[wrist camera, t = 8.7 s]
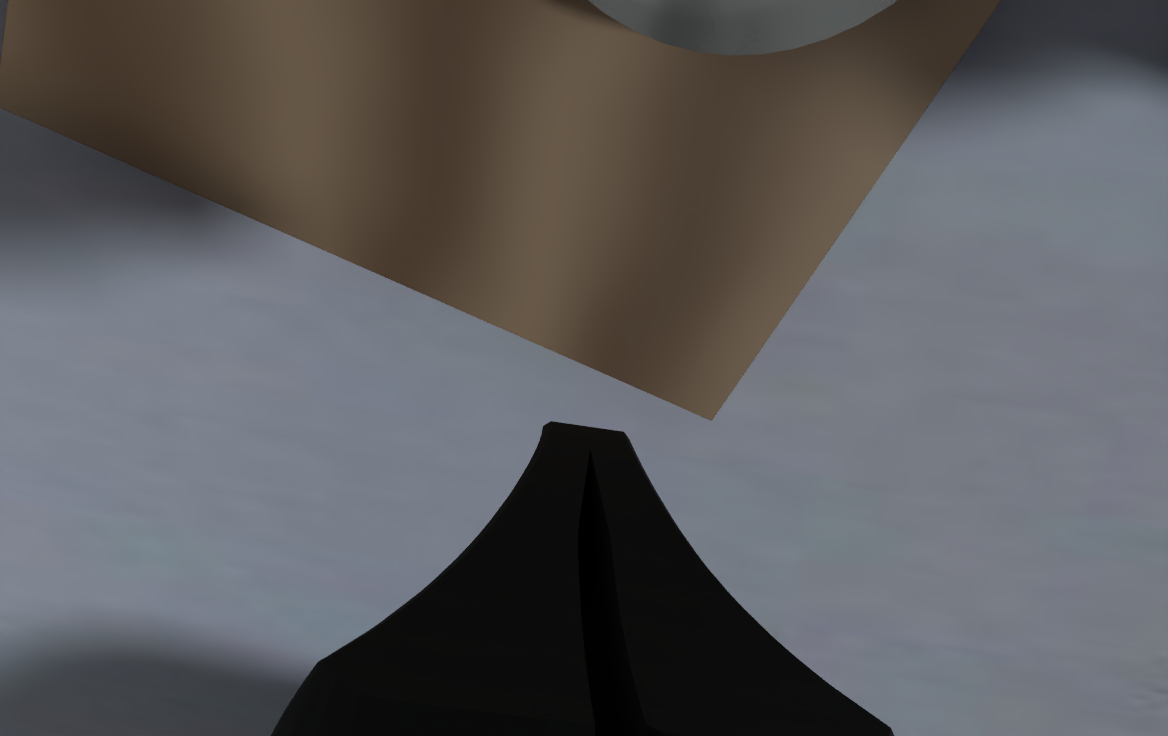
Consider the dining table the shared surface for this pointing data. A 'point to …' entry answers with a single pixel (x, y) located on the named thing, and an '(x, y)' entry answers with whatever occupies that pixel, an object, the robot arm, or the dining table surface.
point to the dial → (740, 22)
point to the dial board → (509, 151)
